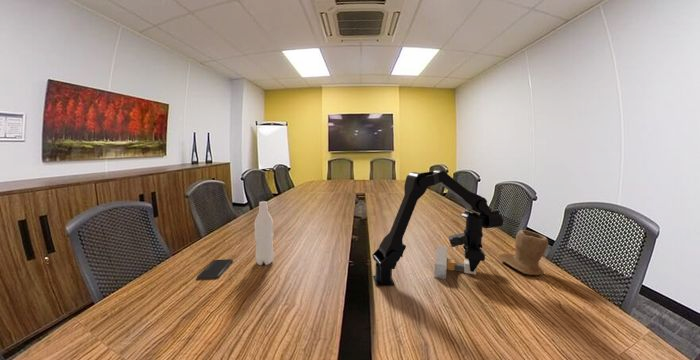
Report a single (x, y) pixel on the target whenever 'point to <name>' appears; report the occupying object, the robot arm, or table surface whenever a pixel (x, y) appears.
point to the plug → (459, 266)
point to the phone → (215, 269)
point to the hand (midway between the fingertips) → (471, 269)
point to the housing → (440, 262)
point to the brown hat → (527, 252)
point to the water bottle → (264, 235)
